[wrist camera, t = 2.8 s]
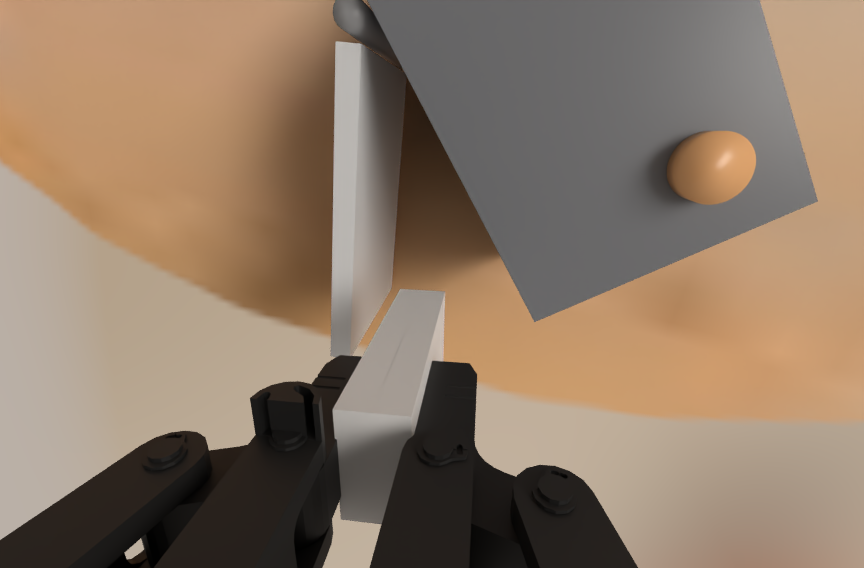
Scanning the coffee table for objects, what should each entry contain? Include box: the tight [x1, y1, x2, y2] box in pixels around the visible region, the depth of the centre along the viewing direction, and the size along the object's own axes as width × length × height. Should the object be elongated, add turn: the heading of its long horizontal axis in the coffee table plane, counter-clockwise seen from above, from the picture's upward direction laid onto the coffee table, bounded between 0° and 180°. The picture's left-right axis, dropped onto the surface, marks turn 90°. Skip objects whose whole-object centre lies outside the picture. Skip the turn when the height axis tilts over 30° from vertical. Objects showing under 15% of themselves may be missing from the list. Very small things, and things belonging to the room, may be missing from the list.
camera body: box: [367, 0, 818, 322], centre depth 16 cm, size 14×9×10 cm, turn 29°
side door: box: [331, 0, 407, 357], centre depth 19 cm, size 12×2×8 cm, turn 174°
